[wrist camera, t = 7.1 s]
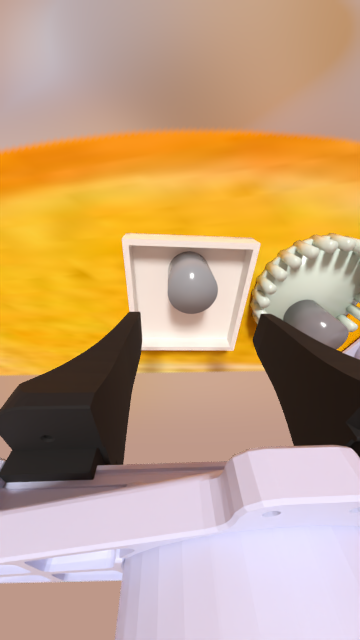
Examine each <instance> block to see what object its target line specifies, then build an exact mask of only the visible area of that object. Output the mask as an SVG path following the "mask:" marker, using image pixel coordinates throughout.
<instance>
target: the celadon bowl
mask: <svg viewBox="0 0 360 640" xmlns="http://www.w3.org/2000/svg"><path fill="white" fill-rule="evenodd" d="M256 281H257V283H256V285H255V288H254V289H253V290H252V292H251V294H252V301H251V303H250V307H251V308H252V311H253V313H252V317H253V319H254V320H255V322H256V323H257V325H258V321H259V318H260V315H261V314H272V315H275V316H276V317H278V318H280V319H282V320H283V317H284V314H285V312H286V311H287V309H288V308H289V307H290V306H291V305H293V304H294V303H296V302H298V301H301V300H313V301H315V302H317V303H318V304H319V305H320V306H321V307H323V308H324V309H325V310H326V311H328V312H329V313H330V314H331V315H333V316H334V317H335V318H336V319H337V320H339V321H340V322H341V323H342V324H344V325H345V326H346V327H347V329H348V331H349V332H353V331H355V330H356V329H357V328H358V325H356V324H355V323H354V322H352V321H351V320H350V319H348V318H347V317H346V315H347V314H348V313H350V314H351V315H352V316H354V317H355V318H357V319H358V320H359V321H360V308H359V307H357V306H356V304H357V303H358V302H359V303H360V240H359V239H356V238H352V237H349V236H341V235H337V234H334V233H330V234H328V235H324V236H319V235H313V236H311V237H310V238H309V239H306V240H303V241H300V240H299V241H296V242H295V243H294V244H293V246H291V247H289V248H288V249H286V250H282V251H280V252H279V253H278V256H277V257H276V258H275V259H274V260H273V261H272V262H269V263H267V264H266V267H265V270H264V271H263V272H262V274H261V275H259V276H258V277H257V279H256Z"/></svg>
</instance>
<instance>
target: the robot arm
mask: <svg viewBox="0 0 360 640" xmlns="http://www.w3.org/2000/svg"><path fill="white" fill-rule="evenodd" d="M253 343H254V346H255V349H256V352H257V355H258V357H259V359H260V361H261V363H262V365H263V367H264V369H265V371H266V373H267V374H268V377H269V379H270V380H271V382H272V384H273V386H274V389H275V391H276V393H277V396H278V399H279V401H280V404H281V406H282V410H283V412H284V415H285V418H286V421H287V424H288V428H289V431H290V434H291V437H292V441H293V444H294V446H276V447H259V448H252V449H247V450H245V451H242V452H239V453H237V454H235V455H233V457H231V459H230V460H229V461H224V462H192V463H163V464H162V463H160V464H127V465H123V460H124V451H125V441H126V433H127V425H128V417H129V409H130V400H131V394H132V388H133V384H134V379H135V376H136V372H137V368H138V364H139V359H140V355H141V348H142V327H141V313H140V312H129V313H128V314H127V315H126V316H125V317H124V318H123V319H122V320H121V321H120V322H119V323H118V325H117V326H116V327H115V328H114V329H113V330H111V331H110V332H109V333H108V334H107V335H106V336H105V337H104V338H103V339H101V340H100V341H99V342H98V343H96V344H95V345H94V346H92V347H91V348H90V349H88V350H87V351H85V352H84V353H82V354H80V355H79V356H77V357H75V358H74V359H72V360H70V361H69V362H67V363H65V364H63V365H61V366H59V367H57V368H55V369H53V370H51V371H49V372H47V373H45V374H42V375H40V376H38V377H35V378H33V379H30V380H29V381H26V382H23V383H21V384H19V386H18V387H17V388H16V389H15V391H14V392H13V393H12V394H11V396H10V397H9V398H8V400H7V401H6V403H5V404H4V405H3V407H2V408H1V409H0V436H1V437H2V438H3V439H4V440H5V442H6V443H7V444H8V445H9V446H10V447H11V449H12V452H11V453H10V455H9V457H8V458H7V460H5V459H2V458H0V583H31V582H81V581H122V584H121V592H120V601H119V609H118V618H117V626H116V634H115V640H360V338H359V339H358V340H357V341H355V342H354V343H353V344H352V345H350V346H349V347H348V348H347V349H346V350H344V351H343V352H340V351H338V350H336V349H333V348H331V347H329V346H327V345H325V344H323V343H321V342H319V341H317V340H316V339H314V338H312V337H310V336H308V335H307V334H305V333H303V332H301V331H300V330H298V329H296V328H295V327H293V326H291V325H290V324H288V323H287V322H285V321H283V320H282V319H280V318H278V317H276V316H275V315H272V314H261V315H260V318H259V321H258V325H257V328H256V331H255V334H254V337H253Z"/></svg>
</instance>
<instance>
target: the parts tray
mask: <svg viewBox="0 0 360 640" xmlns="http://www.w3.org/2000/svg"><path fill="white" fill-rule="evenodd" d="M122 245H123V255H124V264H125V273H126V283H127V292H128V301H129V310H130V312H140V313H141V327H142V348H141V350H226V351H234V347H235V343H236V339H237V335H238V331H239V327H240V323H241V319H242V315H243V311H244V307H245V303H246V299H247V295H248V291H249V288H250V284H251V280H252V276H253V272H254V268H255V264H256V260H257V256H258V252H259V248H260V243H259V242H257V241H256V240H254V239H253V238H241V237H215V236H189V235H163V234H137V233H126V234H125V235H124V237H123V238H122ZM187 251H192V252H196V253H198V254H200V255H202V256H203V257H204V258H205V260H206V261H207V263H208V265H209V267H210V270H211V272H212V274H213V276H214V278H215V280H216V282H217V286H218V294H217V297H216V300H215V301H214V303H213V304H212V305H211V306H210V307H209V308H208V309H206V310H205V311H203V312H200V313H196V314H187V313H183V312H180V311H178V310H177V309H176V308H174V307H173V306H172V304H171V303H170V301H169V298H168V267H169V264H170V262H171V261H172V259H173V258H174V257H175V256H176V255H178V254H180V253H182V252H187Z"/></svg>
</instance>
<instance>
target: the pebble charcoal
mask: <svg viewBox="0 0 360 640" xmlns="http://www.w3.org/2000/svg"><path fill="white" fill-rule="evenodd" d="M283 321H285V322H287V323H288V324H290V325H291V326H293V327H295V328H296V329H298V330H300V331H301V332H303V333H305V334H307V335H308V336H310V337H312V338H314V339H316V340H317V341H319V342H321V343H323V344H325V345H327V346H329V347H331V348H333V349H338V348H339V347H340V346H341V345H342V344H343V343H344V342H345V341H346V339H347V337H348V329H347V327H346V326H345V325H344V324H342V323H341V322H340V321H339V320H337V319H336V318H335V317H334V316H333V315H331V314H330V313H329V312H328V311H326V310H325V309H324V308H323V307H321V306H320V305H319V304H318V303H317V302H315V301H313V300H301V301H298V302H296V303H294V304H293V305H291V306H290V307H289V308H288V309H287V311H286V312H285V314H284V317H283Z"/></svg>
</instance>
